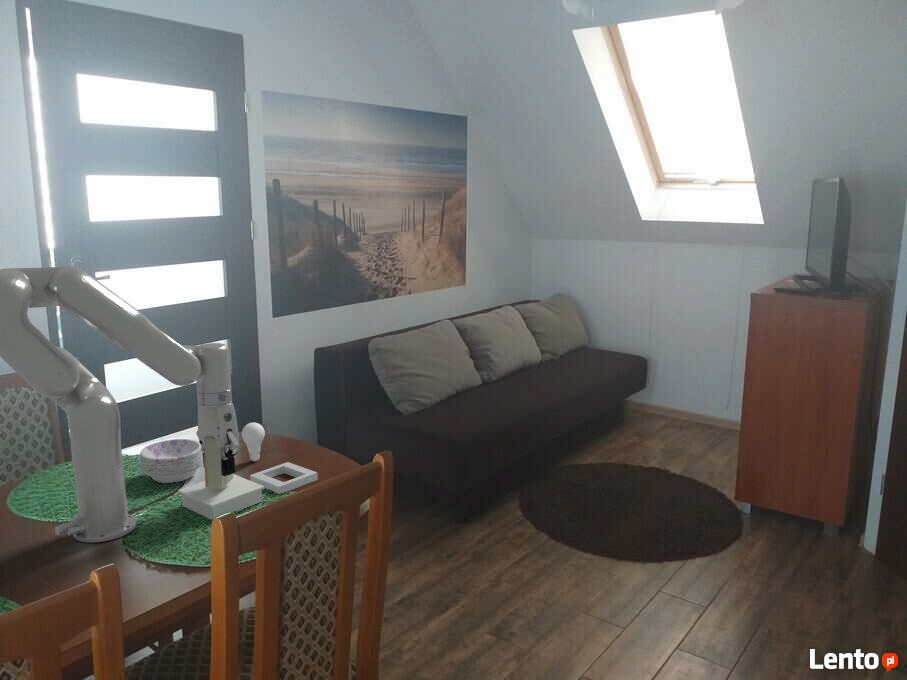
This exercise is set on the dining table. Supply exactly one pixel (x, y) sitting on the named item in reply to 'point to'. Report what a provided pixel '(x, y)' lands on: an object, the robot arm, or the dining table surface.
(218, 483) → the skincare box
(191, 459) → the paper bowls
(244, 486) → the stand
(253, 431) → the lightbulb
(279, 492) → the frame
